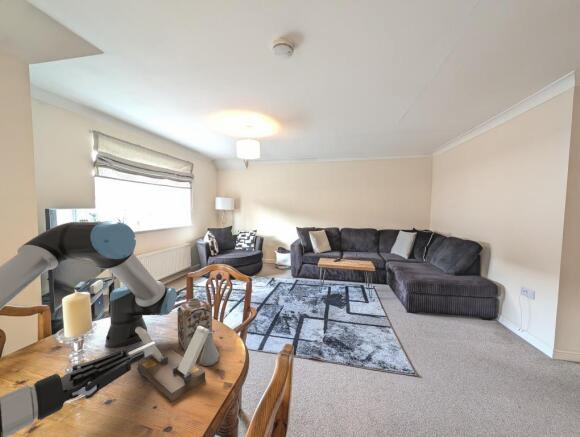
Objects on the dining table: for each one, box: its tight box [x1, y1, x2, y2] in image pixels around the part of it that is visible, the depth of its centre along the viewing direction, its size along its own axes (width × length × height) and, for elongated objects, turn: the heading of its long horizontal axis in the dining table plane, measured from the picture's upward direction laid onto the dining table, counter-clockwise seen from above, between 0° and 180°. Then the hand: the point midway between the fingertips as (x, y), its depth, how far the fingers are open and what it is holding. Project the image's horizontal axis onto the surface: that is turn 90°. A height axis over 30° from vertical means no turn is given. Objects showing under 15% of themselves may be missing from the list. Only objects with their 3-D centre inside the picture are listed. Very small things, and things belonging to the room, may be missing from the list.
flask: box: [198, 331, 221, 367], centre depth 85 cm, size 7×7×10 cm
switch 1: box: [135, 327, 163, 362], centre depth 79 cm, size 2×6×14 cm, turn 55°
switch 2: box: [178, 326, 209, 375], centre depth 77 cm, size 2×6×14 cm
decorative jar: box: [177, 297, 213, 352], centre depth 99 cm, size 12×12×18 cm
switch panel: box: [137, 347, 206, 402], centre depth 78 cm, size 11×24×4 cm, turn 54°
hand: (154, 346), depth 67 cm, fingers closed
